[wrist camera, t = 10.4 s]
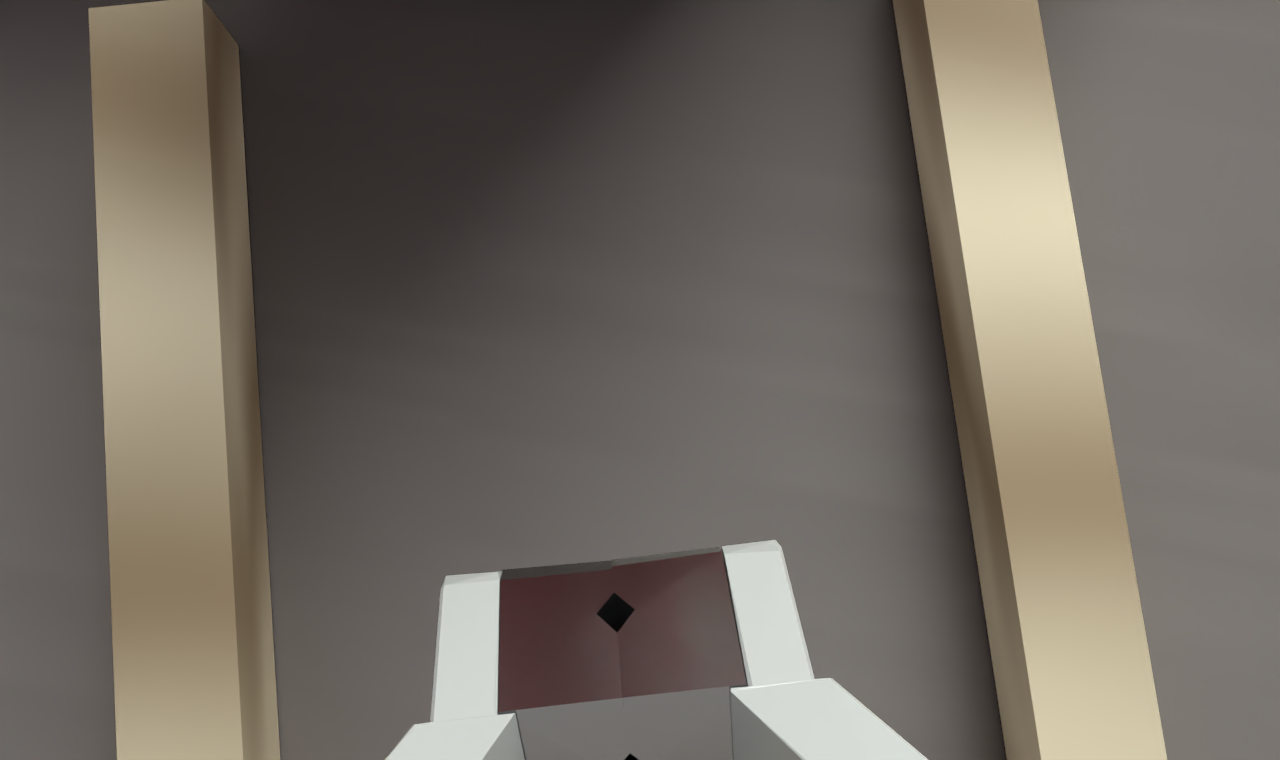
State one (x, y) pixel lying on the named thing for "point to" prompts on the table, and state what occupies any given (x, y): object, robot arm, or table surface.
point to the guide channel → (230, 411)
